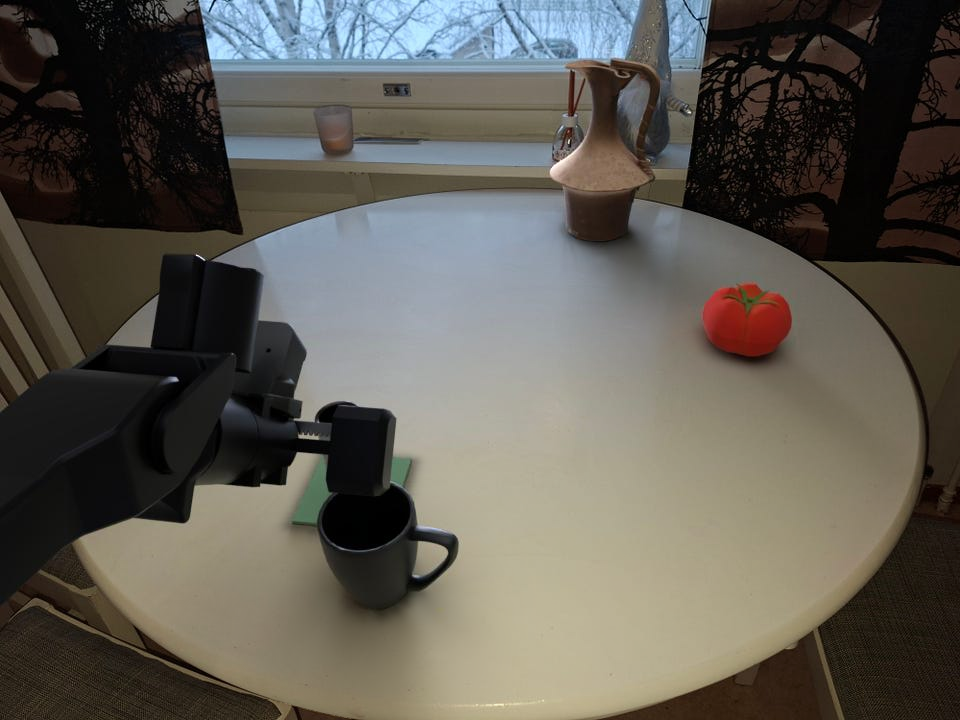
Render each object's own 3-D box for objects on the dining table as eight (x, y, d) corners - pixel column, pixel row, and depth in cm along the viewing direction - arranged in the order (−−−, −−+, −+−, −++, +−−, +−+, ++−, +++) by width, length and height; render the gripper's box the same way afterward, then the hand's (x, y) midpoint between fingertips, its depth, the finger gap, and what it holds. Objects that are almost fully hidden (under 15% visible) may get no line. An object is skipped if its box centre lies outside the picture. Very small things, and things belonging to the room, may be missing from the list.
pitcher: (656, 215, 123) (679, 49, 106) (637, 258, 110) (659, 77, 94) (563, 203, 128) (570, 43, 112) (534, 242, 116) (537, 68, 99)
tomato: (795, 339, 91) (810, 290, 86) (760, 377, 84) (774, 327, 80) (721, 311, 97) (731, 265, 92) (683, 346, 90) (691, 298, 86)
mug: (443, 648, 57) (435, 578, 51) (317, 608, 60) (297, 539, 55) (475, 569, 63) (471, 499, 57) (360, 537, 66) (345, 469, 61)
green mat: (388, 533, 67) (388, 530, 66) (292, 523, 68) (291, 520, 68) (411, 460, 75) (411, 458, 74) (325, 453, 76) (324, 450, 76)
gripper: (372, 321, 42) (424, 359, 58) (101, 305, 45) (219, 346, 60) (353, 502, 41) (411, 492, 56) (72, 475, 43) (201, 472, 59)
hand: (308, 445), depth 58 cm, fingers open, 9 cm apart
